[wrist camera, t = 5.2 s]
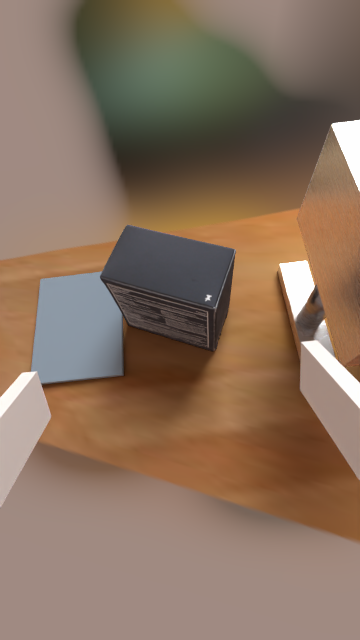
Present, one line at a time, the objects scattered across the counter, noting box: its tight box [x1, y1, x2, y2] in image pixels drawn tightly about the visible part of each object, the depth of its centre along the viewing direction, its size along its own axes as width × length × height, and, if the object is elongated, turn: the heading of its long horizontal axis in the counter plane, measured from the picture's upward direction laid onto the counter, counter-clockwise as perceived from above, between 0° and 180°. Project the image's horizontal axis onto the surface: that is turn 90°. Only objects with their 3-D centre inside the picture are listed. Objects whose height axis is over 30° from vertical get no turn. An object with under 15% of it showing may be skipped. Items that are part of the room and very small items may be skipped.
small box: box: [100, 225, 236, 351], centre depth 31 cm, size 11×6×10 cm, turn 71°
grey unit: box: [277, 121, 360, 367], centre depth 26 cm, size 4×14×18 cm, turn 5°
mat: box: [31, 272, 124, 385], centre depth 36 cm, size 10×13×1 cm
